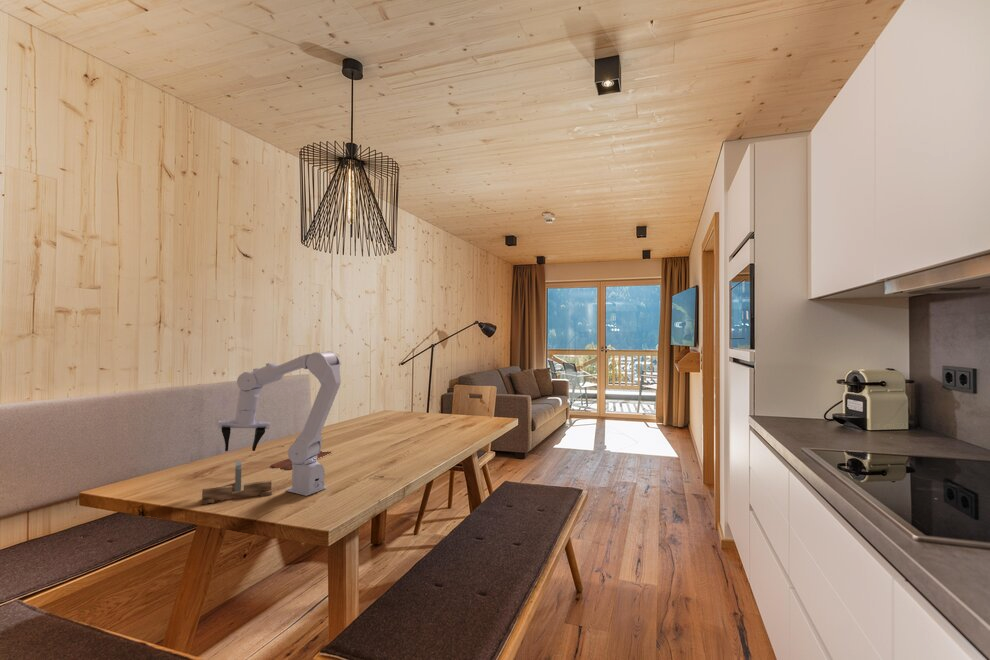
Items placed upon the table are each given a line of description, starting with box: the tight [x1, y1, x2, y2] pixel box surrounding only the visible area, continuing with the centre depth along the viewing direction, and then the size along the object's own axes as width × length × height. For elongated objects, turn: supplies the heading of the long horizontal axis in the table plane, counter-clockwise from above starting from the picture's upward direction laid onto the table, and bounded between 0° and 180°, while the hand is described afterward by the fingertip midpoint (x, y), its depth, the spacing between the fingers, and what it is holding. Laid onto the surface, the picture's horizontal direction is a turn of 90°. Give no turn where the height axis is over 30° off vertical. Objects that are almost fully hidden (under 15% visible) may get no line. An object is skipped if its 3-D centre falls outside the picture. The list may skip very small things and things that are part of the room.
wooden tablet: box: [269, 450, 332, 471], centre depth 177 cm, size 27×10×2 cm, turn 163°
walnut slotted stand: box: [201, 479, 273, 505], centre depth 136 cm, size 18×5×4 cm, turn 119°
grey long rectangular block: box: [234, 460, 242, 492], centre depth 145 cm, size 10×2×7 cm, turn 29°
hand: (240, 450), depth 146 cm, fingers open, 7 cm apart
